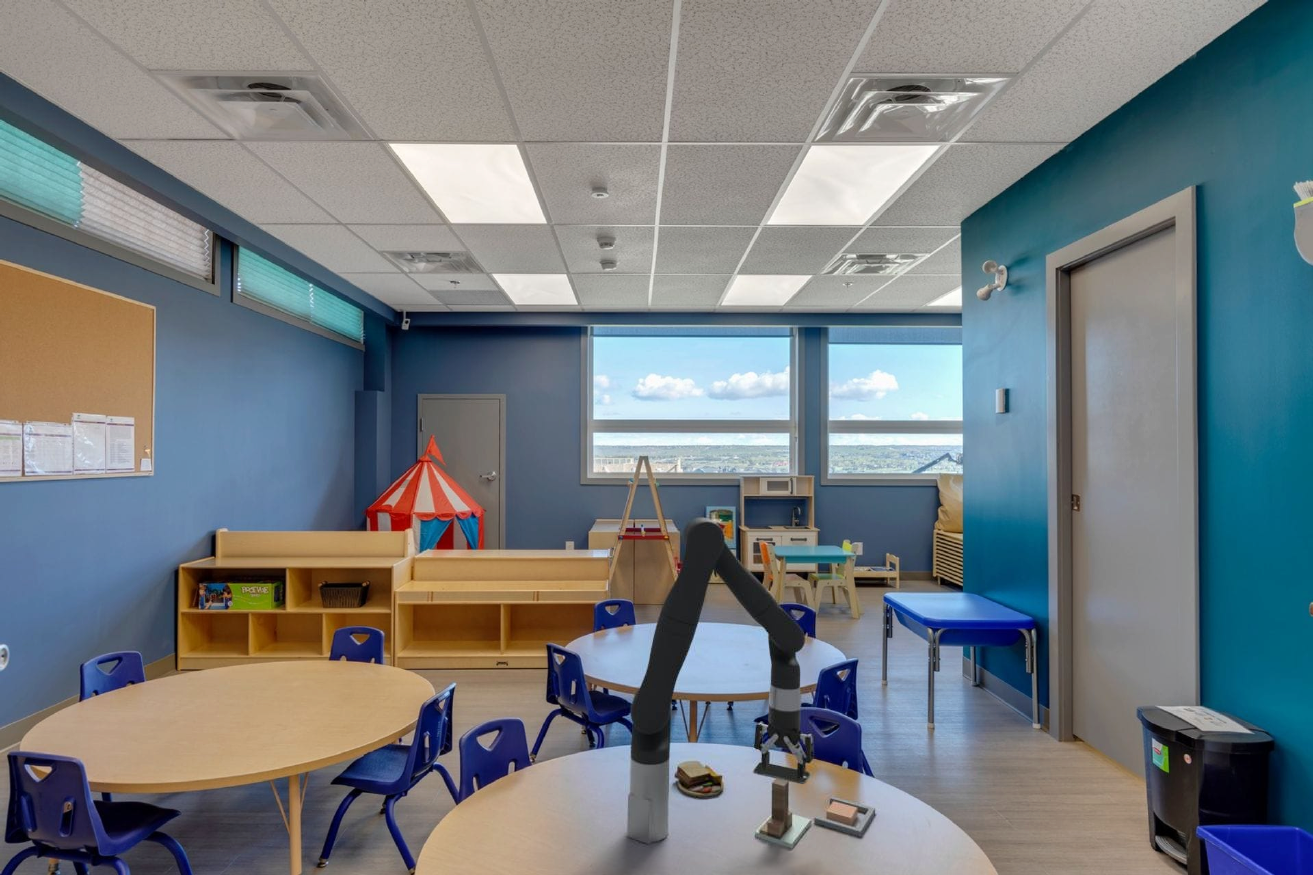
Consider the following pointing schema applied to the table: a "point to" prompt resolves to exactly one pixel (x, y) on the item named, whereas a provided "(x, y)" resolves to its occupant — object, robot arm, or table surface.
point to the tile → (842, 813)
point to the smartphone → (781, 773)
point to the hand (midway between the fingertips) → (783, 773)
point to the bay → (847, 828)
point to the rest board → (788, 831)
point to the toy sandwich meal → (698, 779)
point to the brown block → (778, 811)
